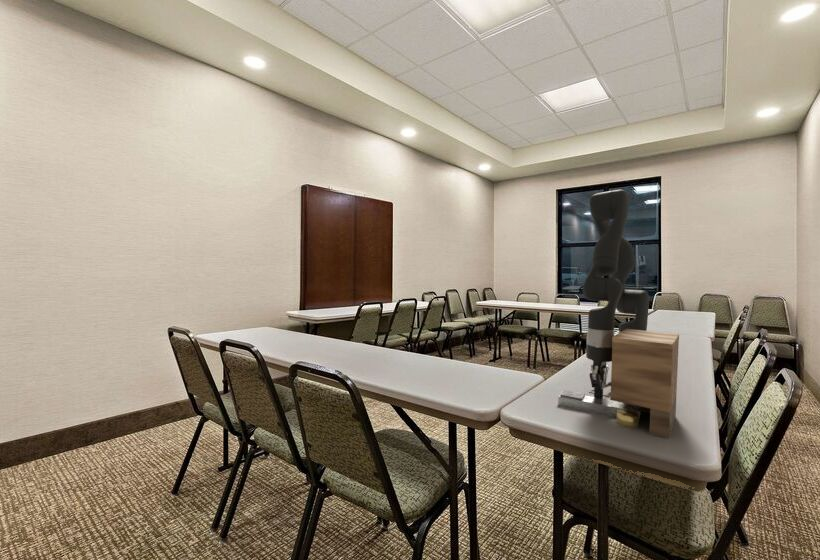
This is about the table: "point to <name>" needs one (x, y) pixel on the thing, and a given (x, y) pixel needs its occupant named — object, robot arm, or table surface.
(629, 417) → the puck
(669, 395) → the wooden grain block
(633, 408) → the bar
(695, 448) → the table surface
